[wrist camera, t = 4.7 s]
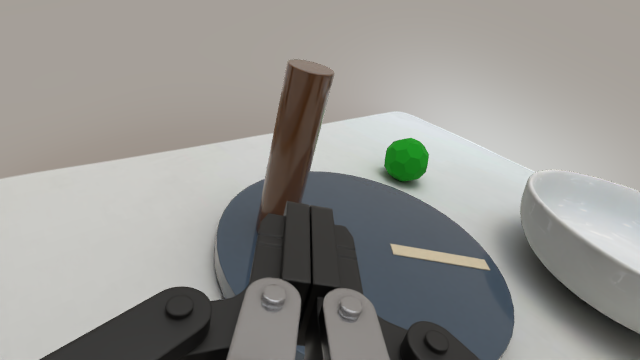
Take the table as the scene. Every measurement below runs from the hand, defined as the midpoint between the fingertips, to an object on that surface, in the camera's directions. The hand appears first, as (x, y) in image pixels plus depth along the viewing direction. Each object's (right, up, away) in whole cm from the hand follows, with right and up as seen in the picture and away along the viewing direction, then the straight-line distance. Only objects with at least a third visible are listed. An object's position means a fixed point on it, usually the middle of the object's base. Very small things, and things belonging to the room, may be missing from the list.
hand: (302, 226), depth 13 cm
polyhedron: (+10, +2, +32) cm, 34 cm away
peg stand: (+4, -5, +17) cm, 18 cm away
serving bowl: (+27, -9, +22) cm, 36 cm away
